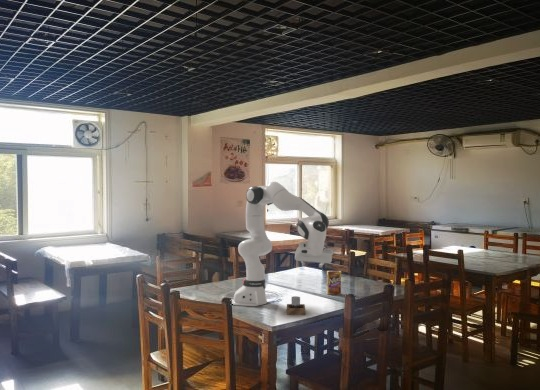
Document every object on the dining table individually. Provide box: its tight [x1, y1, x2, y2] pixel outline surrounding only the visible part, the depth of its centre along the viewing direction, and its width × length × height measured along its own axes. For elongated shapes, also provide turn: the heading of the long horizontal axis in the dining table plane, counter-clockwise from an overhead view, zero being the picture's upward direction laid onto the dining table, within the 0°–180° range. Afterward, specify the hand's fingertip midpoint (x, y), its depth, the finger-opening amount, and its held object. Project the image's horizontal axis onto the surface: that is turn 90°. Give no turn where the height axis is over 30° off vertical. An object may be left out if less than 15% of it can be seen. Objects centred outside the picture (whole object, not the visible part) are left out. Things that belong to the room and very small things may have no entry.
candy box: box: [326, 270, 342, 295], centre depth 308 cm, size 9×4×15 cm, turn 93°
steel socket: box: [291, 296, 301, 308], centre depth 262 cm, size 5×5×8 cm
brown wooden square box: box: [286, 303, 306, 316], centre depth 262 cm, size 10×10×4 cm
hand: (311, 266), depth 260 cm, fingers open, 8 cm apart
